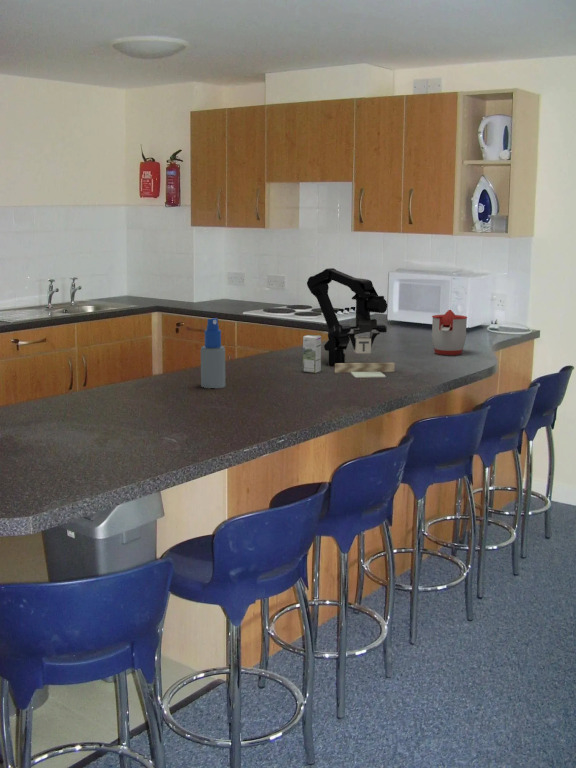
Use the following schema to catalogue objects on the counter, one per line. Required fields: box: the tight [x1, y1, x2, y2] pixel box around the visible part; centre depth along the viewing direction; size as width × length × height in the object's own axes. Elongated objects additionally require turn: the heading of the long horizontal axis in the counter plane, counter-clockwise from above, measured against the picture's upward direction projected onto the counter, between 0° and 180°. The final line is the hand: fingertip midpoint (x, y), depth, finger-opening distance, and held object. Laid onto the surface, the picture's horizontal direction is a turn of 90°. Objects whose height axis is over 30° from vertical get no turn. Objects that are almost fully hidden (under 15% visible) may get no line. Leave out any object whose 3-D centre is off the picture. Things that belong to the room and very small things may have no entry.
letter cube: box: [353, 335, 372, 354], centre depth 355 cm, size 6×6×6 cm
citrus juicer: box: [431, 309, 468, 357], centre depth 393 cm, size 16×17×20 cm
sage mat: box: [350, 372, 387, 379], centre depth 344 cm, size 12×10×1 cm
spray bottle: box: [200, 317, 226, 389], centre depth 319 cm, size 9×9×25 cm
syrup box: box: [302, 334, 322, 374], centre depth 350 cm, size 6×6×14 cm
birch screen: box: [334, 362, 396, 374], centre depth 351 cm, size 24×2×4 cm, turn 96°
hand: (362, 349), depth 356 cm, fingers closed on letter cube, 6 cm apart
